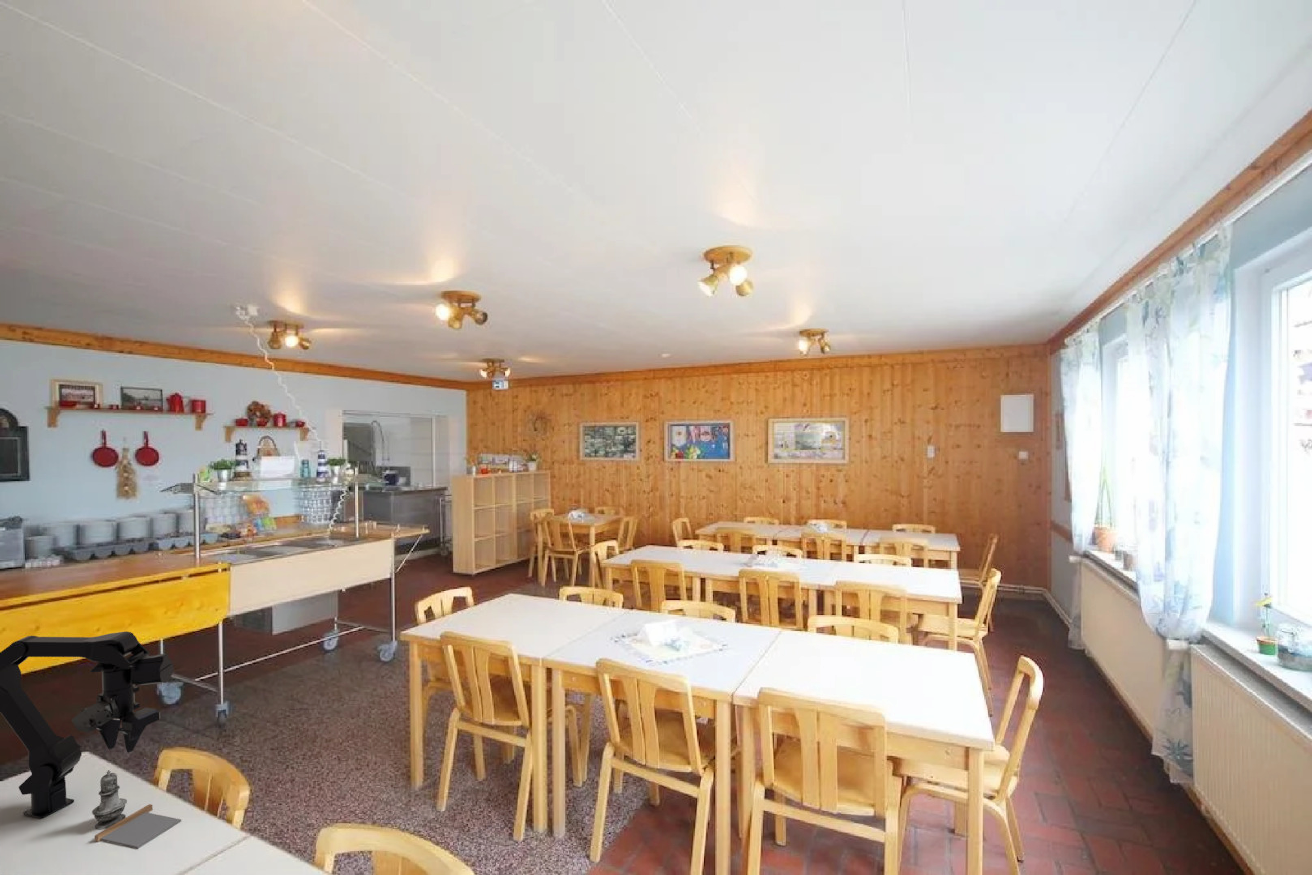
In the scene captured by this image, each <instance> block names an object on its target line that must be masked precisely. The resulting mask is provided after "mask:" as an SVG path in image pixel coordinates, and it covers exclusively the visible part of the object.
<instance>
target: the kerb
mask: <svg viewBox="0 0 1312 875" xmlns="http://www.w3.org/2000/svg"><path fill="white" fill-rule="evenodd" d="M153 808H154V807H153V804H151V803H149V804H147V805H145V806H144V807H142V808H140V809H139V810H137V811H135V812H133V813H131V814H130V815H127V816H126V818H124V819H123V820H121V821H119V822H117V823H116V824H114V825H112V826H110V827H109V828H107V829H103V830H102V831H100V832H97V834H95V835H94V841H95V842H98V843H99V842H101V841H102V840H101V838H102V837H104V836H106V835H107V834H109V833H111V832H113V831H114V830H116V829H118V828H119V827H121V826H123V825H125V824H126V823H128V822H130V821H131V820H133V819H135V818H137V817H138V816H140V815H142V814H143V813H145V812H147V813H151V812H152V811H153Z"/></svg>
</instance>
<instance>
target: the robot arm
mask: <svg viewBox="0 0 1312 875" xmlns="http://www.w3.org/2000/svg"><path fill="white" fill-rule="evenodd" d="M130 654H131V655H130ZM128 655H130V656H128ZM127 656H128V657H127ZM28 658H82V659H83V658H84V659H86V660H89V661H91V662H94V663H97V664H96V665H95V666H94V667H93V668H92V669H90V673H101V685H102V693H99V694H98V695H97V696H96V702H95V703H93V704H92V705H90V706H88V707H86V708H83V709H82V710H81V711H80V713H78V714H77V715H75V716H74V717H73V718H72V719H71V722H72V723H73V725H74V727H75V728H76V730H77V731H78V732H85V733H87V734H89V733H92V732H94V731H95V730H98V732H99V734H100V735H101V737H102V739H103V741H104V744H105V745H106V747H107V749H108V750H112V749H114V748H115V747H116V743H117V742H118V741H117V740H118V735H119V732H120V733H122V734H123V740H124V746H125V752H126V753H128V754H129V753H131V752H133V751H134V749H135V747H136V745H137V743H138V741H139V740H140V737H141V736H142V734H143V732H144V730H145V729H146V727H147V726H149V725H151V724H153V723H155V722H157V721H159V720H161V711H160V710H159V709H157V708H154V707H153V708H152V707H151V708H150V707H143V708H142V709H139V708H140V706H141V705H140V702H136V700H135V698H136V696H135V693H137V692H140V686H145V685H154V684H165V683H167V682H169V681H170V679H171V678H172V675H173V672H174V663H173V662H172V661H173V660H172V659H170V658H169V655H168V653H161V654H156V655H150V651H149V650H148V649H146V647H145V646H144V645H142V643H141V642H140V641H138V639H137V636H136V635H134V633H133V632H131V631H119V632H112V633H106V634H103V635H98V636H91V637H89V636H88V637H87V636H86V637H84V636H81V637H79V636H38V635H37V636H36V635H27V636H25V637H23V638H20V639H18V640H16V641H15V640H14V642H11V644H9V645H8V646H7V647H5V649H3V650H2V651H0V714H1V715H2V717H3V718H4V719H5V721H6V722H7V724H8V725H9V726H10V727H11V729H12V730H13V732H14V733H15V735H16V736H17V737H18V739H19V740H20V741H21V743H22V744H23V746H25V748H26V750H27V751H28V758H27V759H28V761H27V762H28V765H27V766H28V769H29V771H30V775H29V776H28V777H27V778H26V779H25V780H24V781H23V782H22V783H21V784H20V785H19V786H18V789H19V792H20V794H21V795H22V796H25V795H30V807H31V808H29V809H26V810H25V811H23V813H22V815H23V816H28V817H32V818H36V819H44V818H45V817H48V816H50V815H51V814H52V815H53V813H56V812H58V811H59V810H61V809H63V808H65V807H67V806H69V805H72V803H74V802H75V799H73V798H69V797H67V786H66V785H67V784H66V776H67V775H69V774H70V773H72V772H73V770H74V768H75V766H76V765H78V763H80V760H81V758H82V752H81V748H82V745H80V744H79V743H78V742H77V741H76V739H75V737H74V736H73V734H69V735H68V736H67V737H62V736H59V735H57V734H56V733H55V732H54V730H53V729H52V727H51V726H50V724H48V721H46V719H45V717H43V715H42V714H41V712H40V711H39V710H38V708H37V707H36V705H35V704H34V703H33V702H32V700H31V699H30V696H28V694H27V692H25V690H24V689H23V687H22V682H21V681H22V671H21V669H20V667H19V666H20V665H21V664H22V663H23V662H24V661H26V660H27V659H28ZM135 709H136V710H137V709H138V710H137V711H134V710H135Z"/></svg>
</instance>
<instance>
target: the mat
mask: <svg viewBox="0 0 1312 875" xmlns="http://www.w3.org/2000/svg"><path fill="white" fill-rule="evenodd" d="M181 822H182V819H180V818H176V817H171V816H166V815H162V814H156V813H151V812H148V813H147V812H145V813H143V814H142V815H140V816H138V817H137V818H135V819H133V820H131V821H130V822H128V823H126V824H125V825H123V826H121V827H119V828H118V829H116V830H114V831H113V832H111V833H109V834H107V835H106V836H104V837H102V838H101V840H100V841H102V842H107V843H112V844H117V845H121V846H125V847H130V848H134V849H140V848H141V847H143V846H144V845H146V844H147V843H149V842H151V841H152V840H154V839H155V838H158V837H159V836H160V835H162V834H164V833H165V832H167V831H168V830H170V829H171V828H173V827H174V826H176V825H178V824H179V823H181Z"/></svg>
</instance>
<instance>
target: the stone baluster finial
mask: <svg viewBox="0 0 1312 875" xmlns="http://www.w3.org/2000/svg"><path fill="white" fill-rule="evenodd" d="M120 788H121V786H120V785H119V784H118V774H117V773H114V772H111V770H107V771H106V774H104V775H103V776H102V777H101V779H100V791H98V795H99V797H100V802H99V804H98V806H96V807H95V808H94V809H93V810H92V812H91V813H92V815H93V816H94V818H95V819H96V821H97V822H96V823H95V825H94V829H95V830H98V831H99V830H102V831H103V830H105V829H107V828H109V827H110V826H112V825H114V824H116V823H117V822H119V821H121V820H123V819H124V818H126V817H127V815H126V814H125V813H123V812H124V811H125V807H126V804H128V803H127V802H128V800H127V798H120V797H119V789H120Z"/></svg>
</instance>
